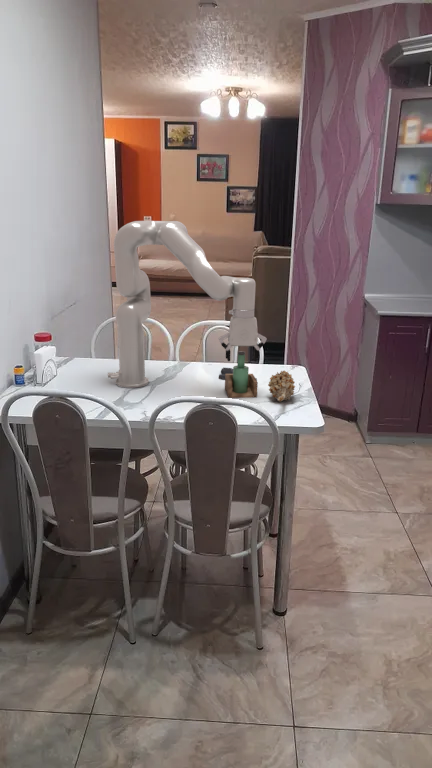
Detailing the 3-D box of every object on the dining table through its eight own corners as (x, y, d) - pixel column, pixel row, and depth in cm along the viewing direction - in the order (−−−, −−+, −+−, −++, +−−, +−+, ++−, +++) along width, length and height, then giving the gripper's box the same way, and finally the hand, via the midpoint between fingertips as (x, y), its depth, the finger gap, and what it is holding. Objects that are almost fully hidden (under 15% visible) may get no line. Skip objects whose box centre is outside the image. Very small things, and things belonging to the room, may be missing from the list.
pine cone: (266, 391, 205) (267, 366, 202) (292, 392, 205) (294, 367, 202) (269, 413, 184) (271, 385, 181) (298, 414, 184) (300, 386, 181)
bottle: (233, 393, 200) (234, 354, 196) (231, 388, 205) (232, 350, 201) (248, 393, 201) (250, 354, 196) (246, 388, 206) (247, 350, 201)
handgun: (259, 375, 227) (256, 384, 216) (221, 372, 230) (216, 380, 219) (260, 370, 226) (256, 378, 215) (221, 366, 229) (216, 375, 218)
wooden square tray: (228, 397, 198) (228, 382, 196) (224, 388, 208) (225, 373, 206) (256, 397, 199) (257, 382, 197) (252, 388, 209) (252, 373, 207)
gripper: (220, 315, 190) (219, 363, 195) (269, 315, 192) (267, 363, 197) (218, 311, 197) (216, 357, 202) (265, 311, 199) (263, 357, 204)
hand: (241, 360), depth 199 cm, fingers open, 9 cm apart
